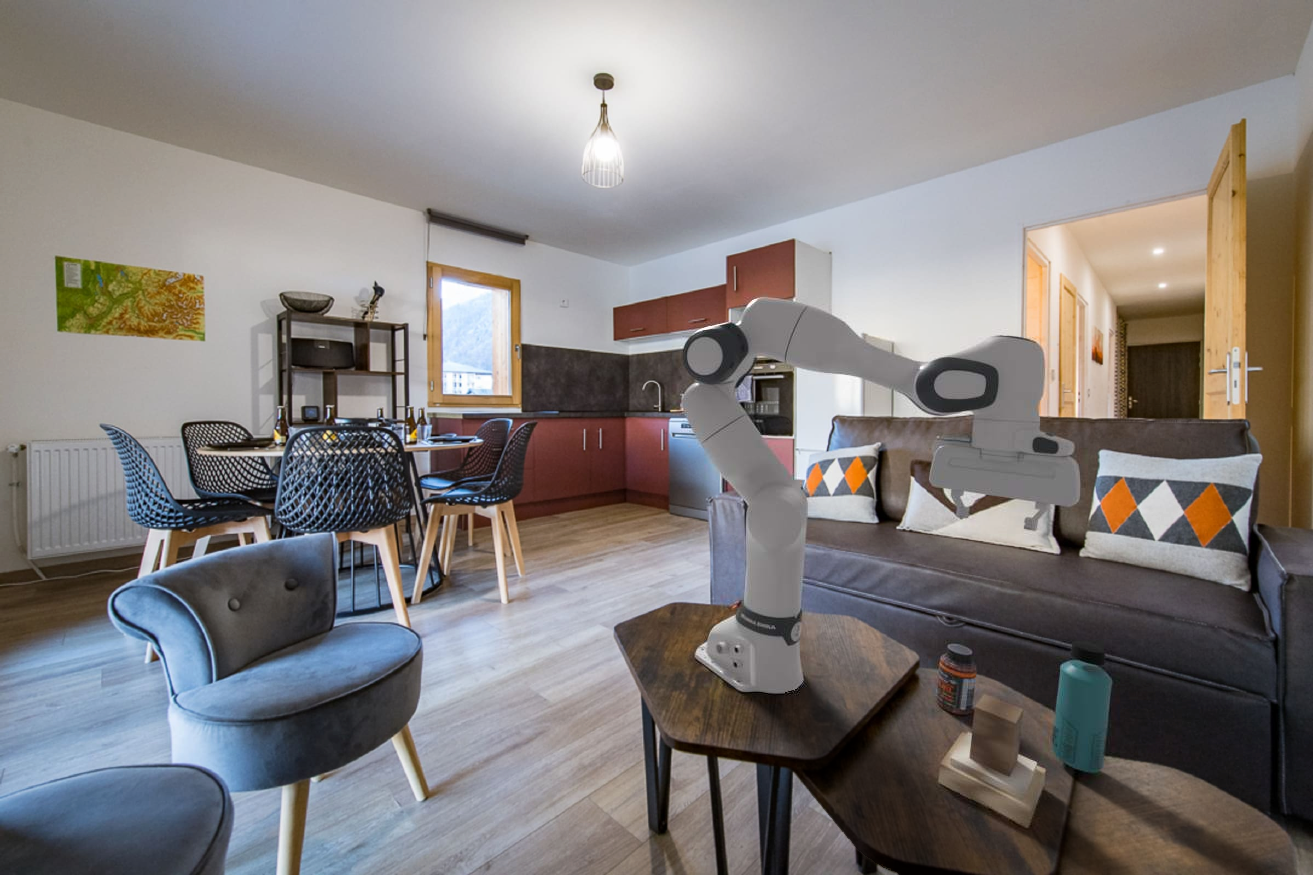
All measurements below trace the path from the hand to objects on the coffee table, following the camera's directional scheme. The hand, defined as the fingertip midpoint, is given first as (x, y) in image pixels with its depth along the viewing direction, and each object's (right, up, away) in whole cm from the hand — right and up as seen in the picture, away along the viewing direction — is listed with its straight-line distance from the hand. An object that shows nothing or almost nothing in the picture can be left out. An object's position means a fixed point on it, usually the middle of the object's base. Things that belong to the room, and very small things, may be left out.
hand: (994, 523), depth 83 cm
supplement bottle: (0, -37, +12) cm, 39 cm away
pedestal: (-6, -38, -7) cm, 39 cm away
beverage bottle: (+11, -38, -3) cm, 40 cm away
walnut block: (-5, -34, -8) cm, 35 cm away
